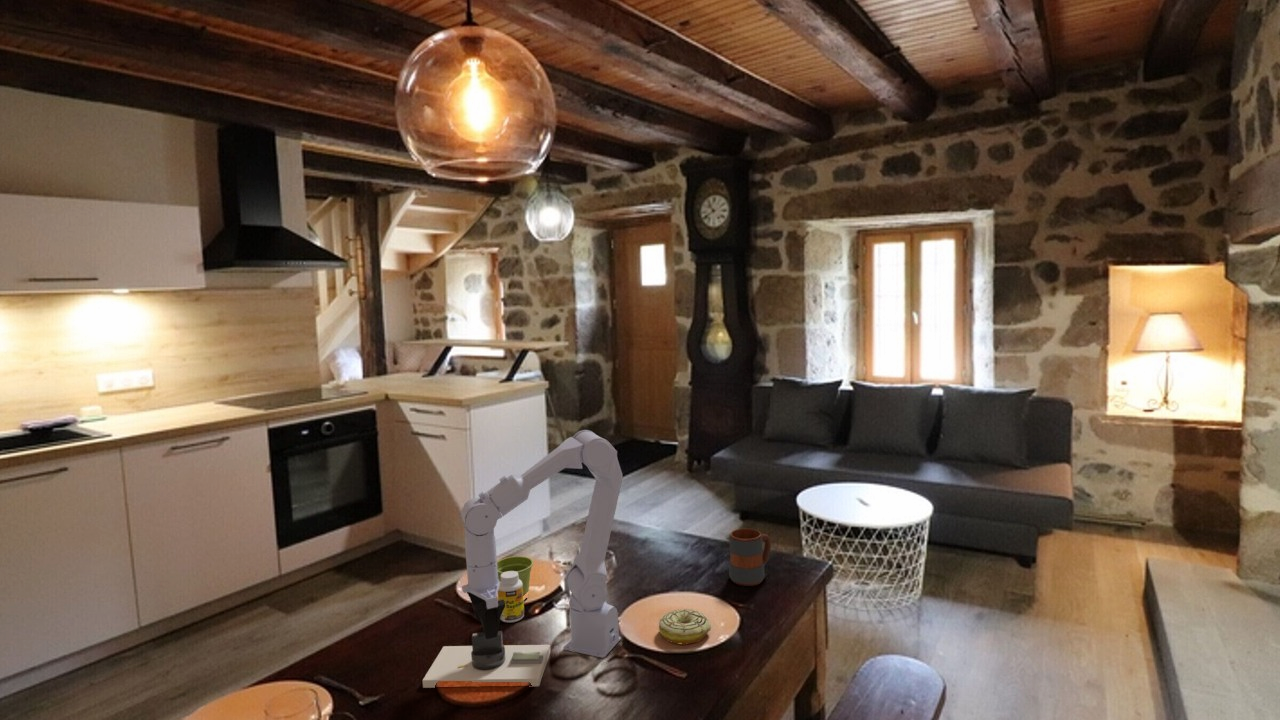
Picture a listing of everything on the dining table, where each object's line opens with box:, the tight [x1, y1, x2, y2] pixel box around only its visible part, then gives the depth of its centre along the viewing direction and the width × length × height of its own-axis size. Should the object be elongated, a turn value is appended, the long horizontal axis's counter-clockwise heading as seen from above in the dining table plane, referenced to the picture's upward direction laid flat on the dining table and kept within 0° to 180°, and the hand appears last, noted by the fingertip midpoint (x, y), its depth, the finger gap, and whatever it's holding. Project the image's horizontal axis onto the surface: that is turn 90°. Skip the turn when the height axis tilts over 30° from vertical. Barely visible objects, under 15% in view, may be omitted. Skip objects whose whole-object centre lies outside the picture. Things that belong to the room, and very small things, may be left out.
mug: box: [728, 528, 772, 587], centre depth 169 cm, size 9×12×12 cm
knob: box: [471, 630, 505, 670], centre depth 134 cm, size 6×6×6 cm
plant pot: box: [497, 555, 534, 596], centre depth 163 cm, size 9×9×9 cm
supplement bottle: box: [497, 571, 525, 623], centre depth 154 cm, size 6×6×10 cm
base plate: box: [422, 644, 551, 689], centre depth 134 cm, size 22×12×4 cm, turn 87°
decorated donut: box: [658, 608, 712, 645], centre depth 144 cm, size 10×11×4 cm
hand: (486, 628), depth 133 cm, fingers open, 7 cm apart
